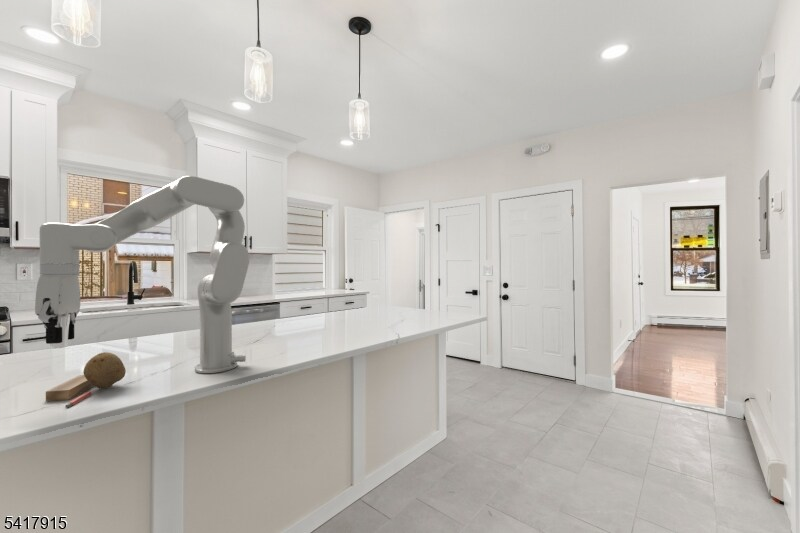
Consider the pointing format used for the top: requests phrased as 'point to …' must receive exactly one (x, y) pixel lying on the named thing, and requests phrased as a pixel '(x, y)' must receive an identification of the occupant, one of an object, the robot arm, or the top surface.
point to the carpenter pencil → (78, 399)
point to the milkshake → (63, 331)
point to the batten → (68, 389)
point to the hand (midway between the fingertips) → (60, 340)
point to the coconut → (104, 370)
